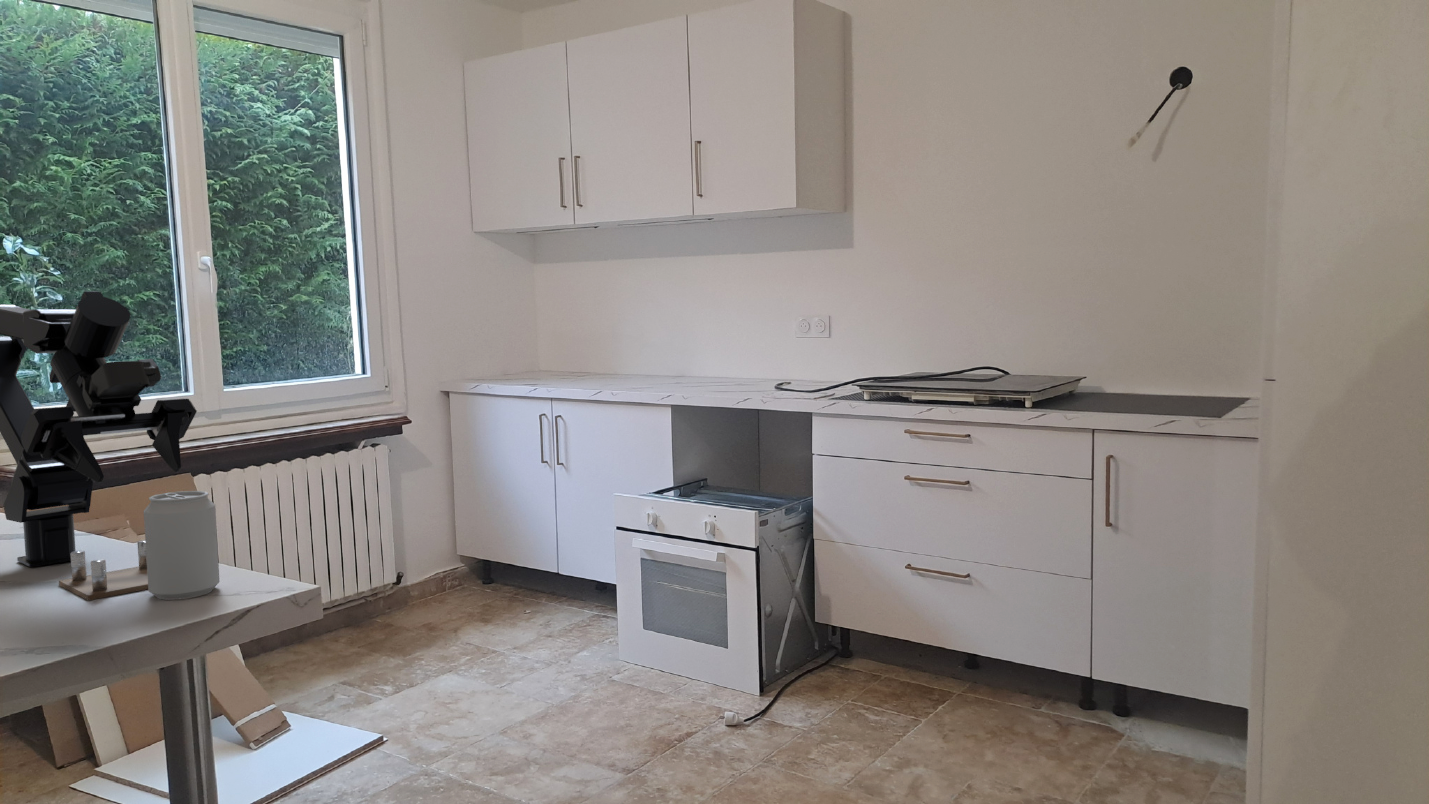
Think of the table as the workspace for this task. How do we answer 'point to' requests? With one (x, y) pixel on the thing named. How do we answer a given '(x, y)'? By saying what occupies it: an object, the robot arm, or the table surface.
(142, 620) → the table surface
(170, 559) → the can
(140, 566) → the standoff plate
